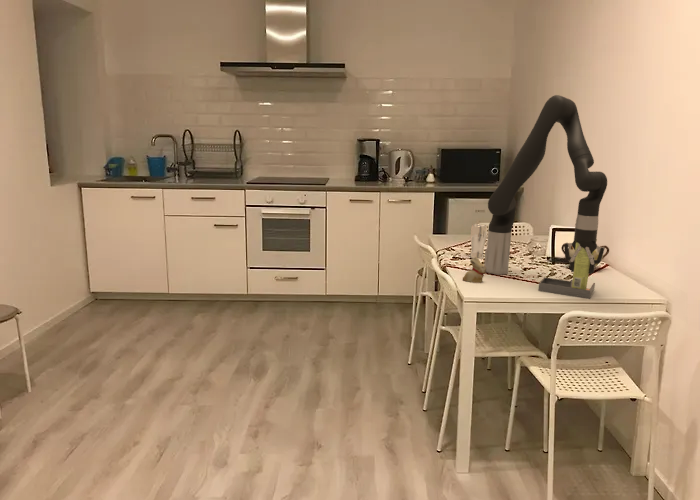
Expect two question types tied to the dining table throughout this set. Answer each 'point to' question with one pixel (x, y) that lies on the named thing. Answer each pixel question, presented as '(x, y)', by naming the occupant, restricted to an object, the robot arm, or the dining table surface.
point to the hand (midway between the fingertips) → (581, 272)
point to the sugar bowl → (595, 253)
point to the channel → (564, 288)
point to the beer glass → (477, 240)
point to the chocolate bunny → (475, 271)
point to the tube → (581, 268)
